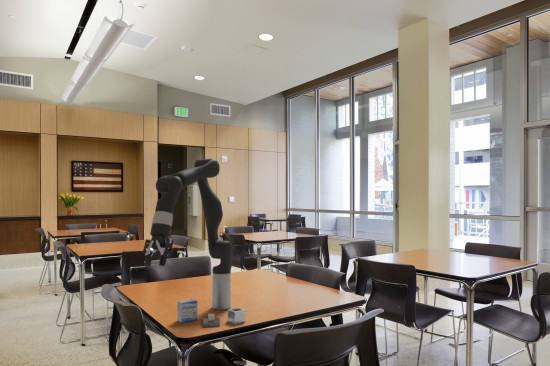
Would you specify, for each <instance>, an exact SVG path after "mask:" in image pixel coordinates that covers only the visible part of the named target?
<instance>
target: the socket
mask: <svg viewBox="0 0 550 366" xmlns="http://www.w3.org/2000/svg"><path fill="white" fill-rule="evenodd" d="M246 315H247V314H246V309H243V308H241V307H234V308H228V309H227V322H229V323H231V324H234V325H237V324H241V323H245V322H246Z"/></svg>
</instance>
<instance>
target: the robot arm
mask: <svg viewBox="0 0 550 366" xmlns="http://www.w3.org/2000/svg"><path fill="white" fill-rule="evenodd" d="M220 168H221V167H220V163H219V161H218V160H217V159H215V158H201V159H196V160H195V162H194V167H190V168H186V169H182V170H181V171H178V172H176V173H173V174H169V175H167V174H166V175H163V176H161V177H159V178H158V179H157V180H156V182H155V188H156V191H157V192H158V193H160V194H161V195H162V194H163V195H164V196H163V197H160V198H158V199H157V201H156V204H155V210H154V213H153V217H152V222H151V228H150V233H149V235H150V236H151V239H148V238H146V239H145V242H144V245H143V249H142V255H145V259H144V266H145V267H151V264H152V258H153V255H154V253H156V252H158V251H159V252H160V256H159V262H158V266H159V267H165V266H166V263H167V257H168V256H169V255H172V252H173V245H174V239H173V238H170V236H171V231H172V226H173V220H174V210H175V205H176V203H177V201H178V199H179V196H180V194H181V192H182V190H183V189H184V188H186V187H189V186H190V185H193V184H195V183H197V187H198V189H199V193H200V199H201V205H202V210H203V211H202V212H203V216H204V220H205V221H204V222H205V227H206V234H207V247H208V248H207V249H208V253H209V256H210V257H211V258H212V259H217V260H220V262H219V264H218V265H217V264H216V265H215V266H213V267H212V276H211V279H212V280H211V281H212V282H211V284H212V288H211V289H212V290H211V292H212V293H211V295H212V297H211V300H212V301H211V303H212V305H211V308H212V309H213V310H219V311H220V310H223V311H224V310H228V309H231V308H232V306H231V305H232V302H231V301H232V298H231V297H232V290H231V289H232V279H231V276H232V275H231V274H232V272H231V271H232V266H233V254H234V253H233V251H234V250H233V244H232V242H231V241H229V240H220V239H219V234H218V232H219V231H218V230H219V228H220V226H221V223H222V220H223V217H224V212H223V206H222V202H221V200H220V199H219V197H218V195H217V194H216V193H215V192H214V191H213V189H212V188H211V186H210V183H209V180H208V179H213V178H216V177H217V176H218V175H219V174H220V170H221V169H220Z"/></svg>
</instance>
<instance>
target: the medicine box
mask: <svg viewBox="0 0 550 366" xmlns="http://www.w3.org/2000/svg"><path fill="white" fill-rule="evenodd" d="M198 302H199V301H198V300H197V299H195V298H193V299H192V298H191V299H186V300H179V301H177V317H176V318H177V322H179V323H181V324H184V323H189V322H193V321H197V320H198V309H199V308H198V305H199V304H198Z"/></svg>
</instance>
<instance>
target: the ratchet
mask: <svg viewBox="0 0 550 366" xmlns="http://www.w3.org/2000/svg"><path fill="white" fill-rule="evenodd" d="M202 321H203V322H202V327H203V328H209V327H210V328H211V327H221V322H220V321H221V319H220V317H216V313H208V314H207V317H206V318H203V319H202Z"/></svg>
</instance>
